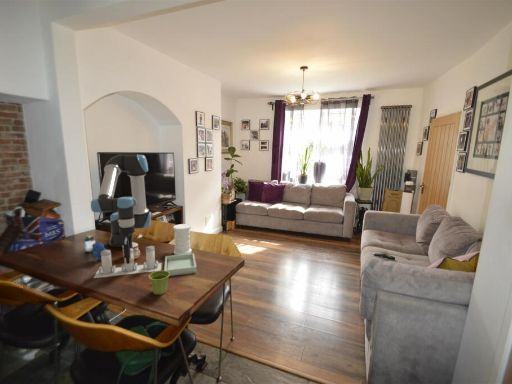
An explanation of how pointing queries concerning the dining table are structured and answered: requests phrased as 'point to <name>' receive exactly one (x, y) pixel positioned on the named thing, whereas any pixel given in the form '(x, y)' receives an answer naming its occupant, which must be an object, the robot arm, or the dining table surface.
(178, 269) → the tray
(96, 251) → the grapes
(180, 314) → the dining table surface
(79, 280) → the dining table surface
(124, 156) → the robot arm
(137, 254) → the teacup with lid
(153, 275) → the plant pot
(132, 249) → the cylinder
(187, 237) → the decorative container
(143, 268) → the block
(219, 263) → the dining table surface
